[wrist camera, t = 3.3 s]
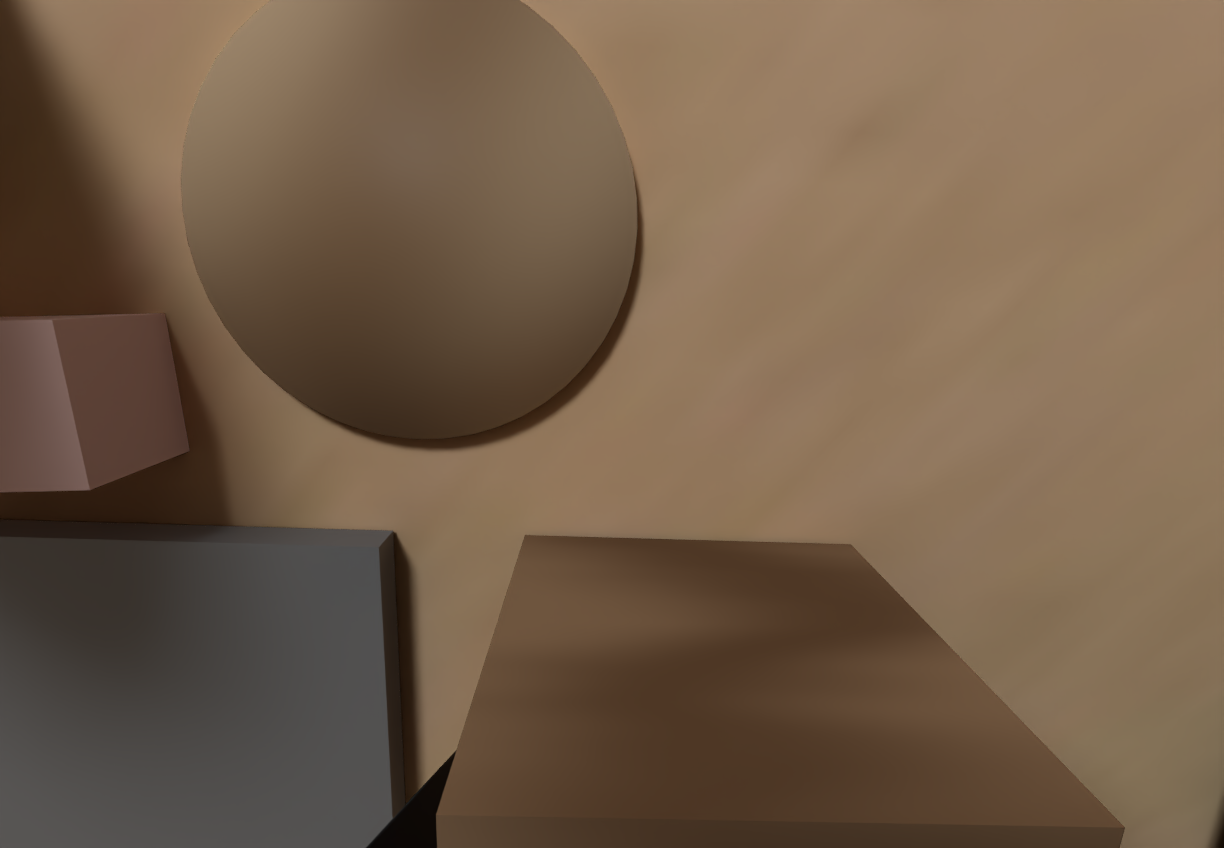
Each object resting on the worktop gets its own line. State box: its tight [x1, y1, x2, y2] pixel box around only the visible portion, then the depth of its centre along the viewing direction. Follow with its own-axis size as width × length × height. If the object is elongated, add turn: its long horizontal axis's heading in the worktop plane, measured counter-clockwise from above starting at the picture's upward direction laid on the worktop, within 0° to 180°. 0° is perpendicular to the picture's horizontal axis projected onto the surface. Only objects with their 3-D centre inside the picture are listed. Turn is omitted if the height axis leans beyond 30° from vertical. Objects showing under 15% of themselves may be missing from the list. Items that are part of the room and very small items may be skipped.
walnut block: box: [436, 535, 1125, 848], centre depth 7 cm, size 5×5×5 cm
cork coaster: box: [181, 0, 637, 439], centre depth 8 cm, size 6×6×1 cm
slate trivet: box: [0, 520, 405, 848], centre depth 10 cm, size 9×9×1 cm
